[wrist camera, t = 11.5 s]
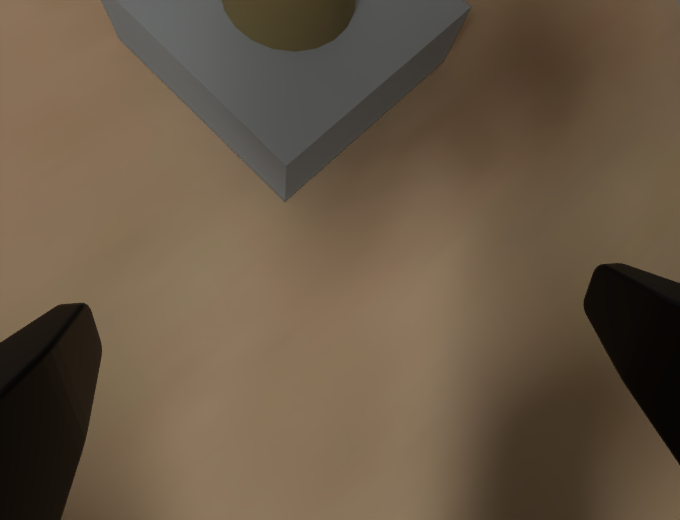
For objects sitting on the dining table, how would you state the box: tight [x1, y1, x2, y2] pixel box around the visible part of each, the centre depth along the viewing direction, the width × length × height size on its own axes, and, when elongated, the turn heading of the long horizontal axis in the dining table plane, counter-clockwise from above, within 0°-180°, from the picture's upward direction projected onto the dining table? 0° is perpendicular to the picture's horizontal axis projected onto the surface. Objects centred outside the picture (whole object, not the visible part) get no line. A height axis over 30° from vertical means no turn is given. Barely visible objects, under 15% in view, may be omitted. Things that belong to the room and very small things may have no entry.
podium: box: [101, 0, 471, 201], centre depth 23 cm, size 12×12×4 cm
